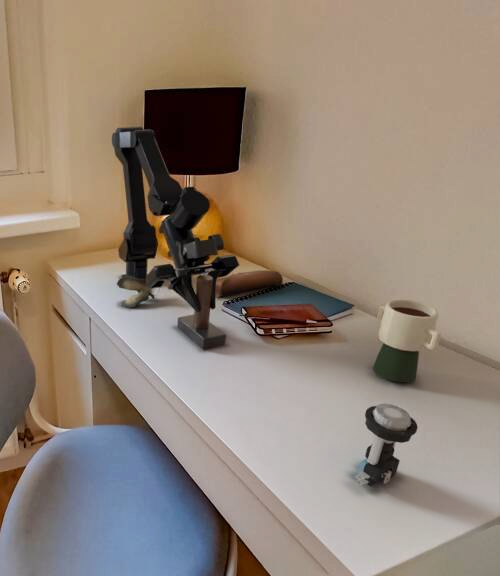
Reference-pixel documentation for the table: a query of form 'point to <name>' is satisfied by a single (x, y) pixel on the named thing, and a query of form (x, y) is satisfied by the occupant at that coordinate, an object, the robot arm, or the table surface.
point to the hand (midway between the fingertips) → (206, 310)
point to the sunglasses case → (247, 281)
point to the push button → (384, 442)
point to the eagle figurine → (136, 285)
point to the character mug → (404, 338)
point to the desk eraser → (202, 319)
